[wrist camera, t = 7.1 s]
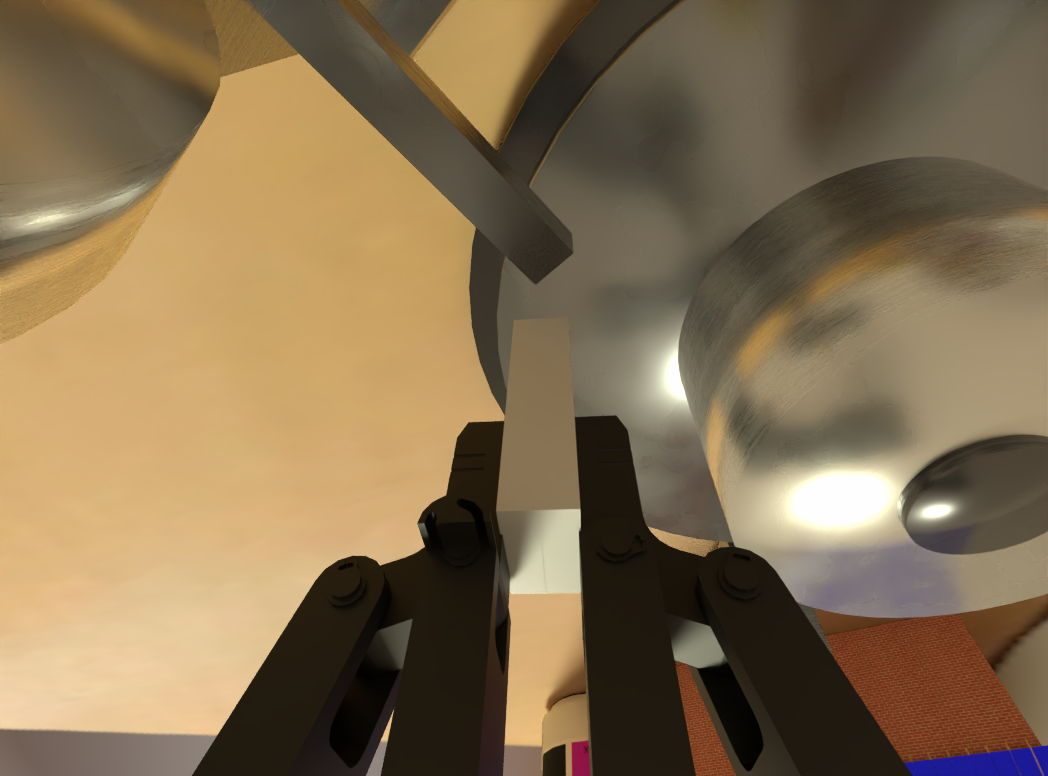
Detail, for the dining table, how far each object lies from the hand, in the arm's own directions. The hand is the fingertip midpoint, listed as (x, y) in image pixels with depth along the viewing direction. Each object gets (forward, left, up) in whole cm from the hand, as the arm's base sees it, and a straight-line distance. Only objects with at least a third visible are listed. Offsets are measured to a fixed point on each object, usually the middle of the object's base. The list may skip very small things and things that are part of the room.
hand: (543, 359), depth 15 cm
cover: (0, +9, -1) cm, 9 cm away
